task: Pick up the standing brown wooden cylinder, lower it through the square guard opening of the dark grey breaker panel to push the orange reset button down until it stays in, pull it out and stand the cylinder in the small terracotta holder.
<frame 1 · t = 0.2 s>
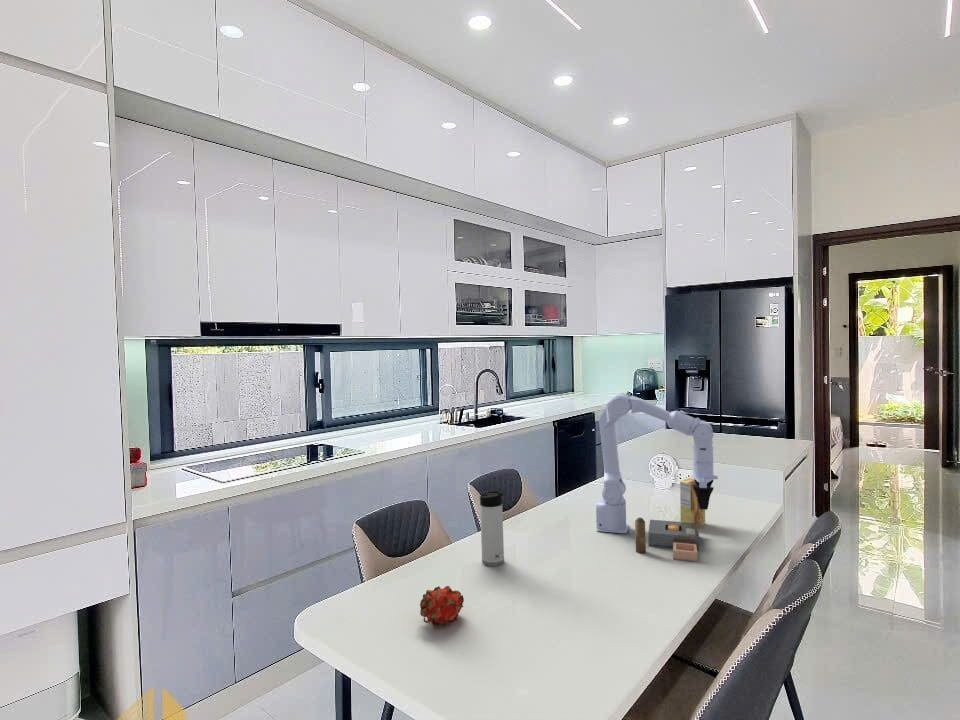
hand: (703, 505, 163), 10 cm above the table, tool pointing down, fingers open, 7 cm apart
holder: (685, 556, 151), on the table
button: (673, 529, 162), point 4 cm above the table, slide at 0.0 cm
brown wooden cylinder: (640, 551, 155), on the table
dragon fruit: (443, 621, 120), on the table
panel: (673, 540, 162), on the table
travel mug: (493, 562, 151), on the table
candy box: (693, 526, 174), on the table
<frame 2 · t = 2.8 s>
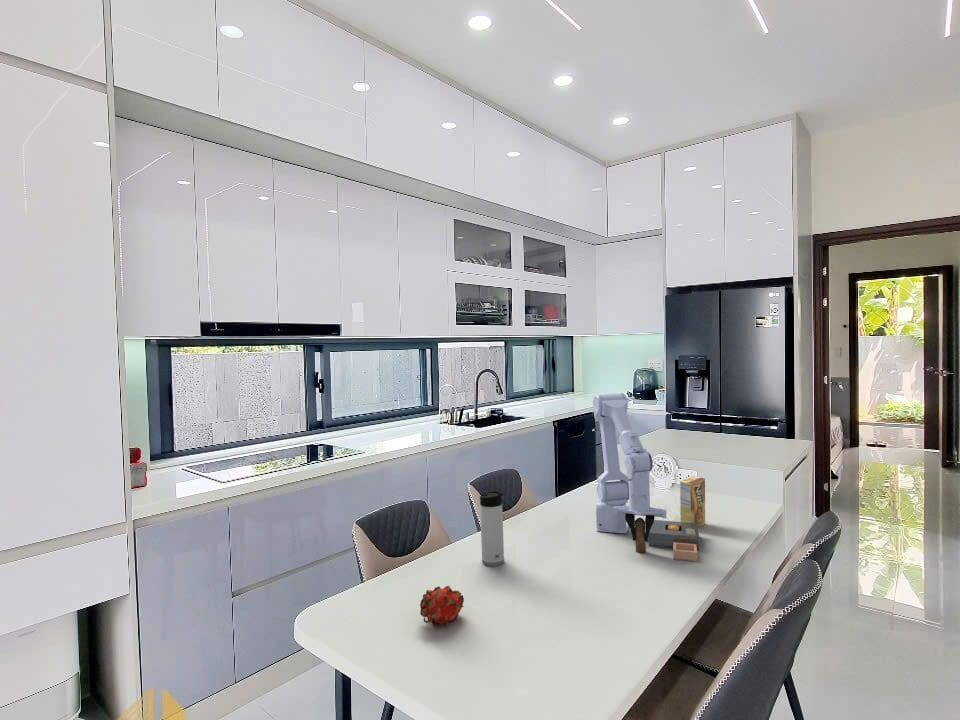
hand: (640, 540, 155), 3 cm above the table, tool pointing down, fingers closed on brown wooden cylinder, 3 cm apart
brown wooden cylinder: (640, 551, 155), on the table, touching gripper
everything else where it was.
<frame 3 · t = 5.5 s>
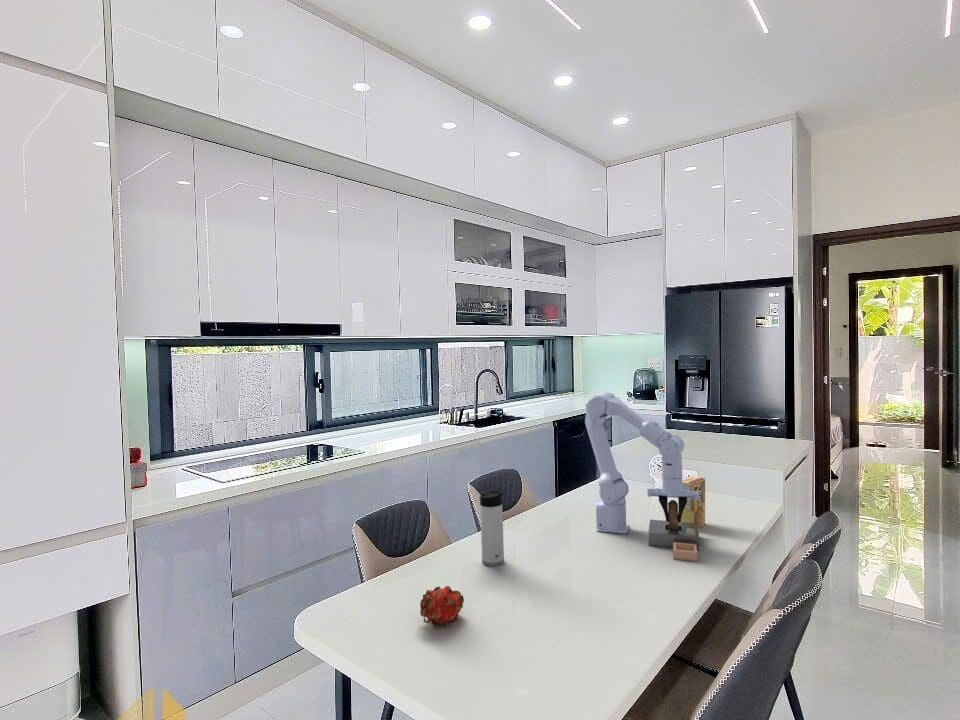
hand: (673, 521, 162), 6 cm above the table, tool pointing down, fingers closed on brown wooden cylinder, 3 cm apart
button: (673, 534, 162), point 2 cm above the table, slide at 1.7 cm, touching brown wooden cylinder
brown wooden cylinder: (673, 532, 162), point 3 cm above the table, touching button, gripper
everything else where it was.
when the fingers open (4 cm above the table, at t = 8.3 s): brown wooden cylinder stays where it is, resting on holder.
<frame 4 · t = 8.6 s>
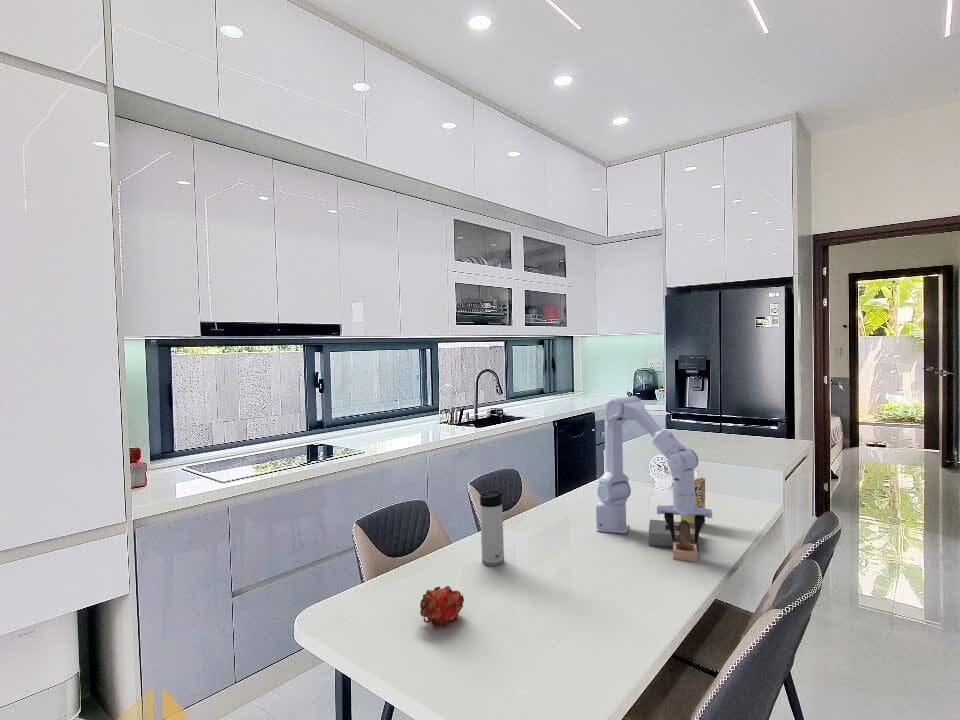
hand: (684, 540, 150), 4 cm above the table, tool pointing down, fingers open, 5 cm apart
button: (673, 534, 162), point 2 cm above the table, slide at 1.7 cm
brown wooden cylinder: (685, 555, 150), resting on holder
everything else where it was.
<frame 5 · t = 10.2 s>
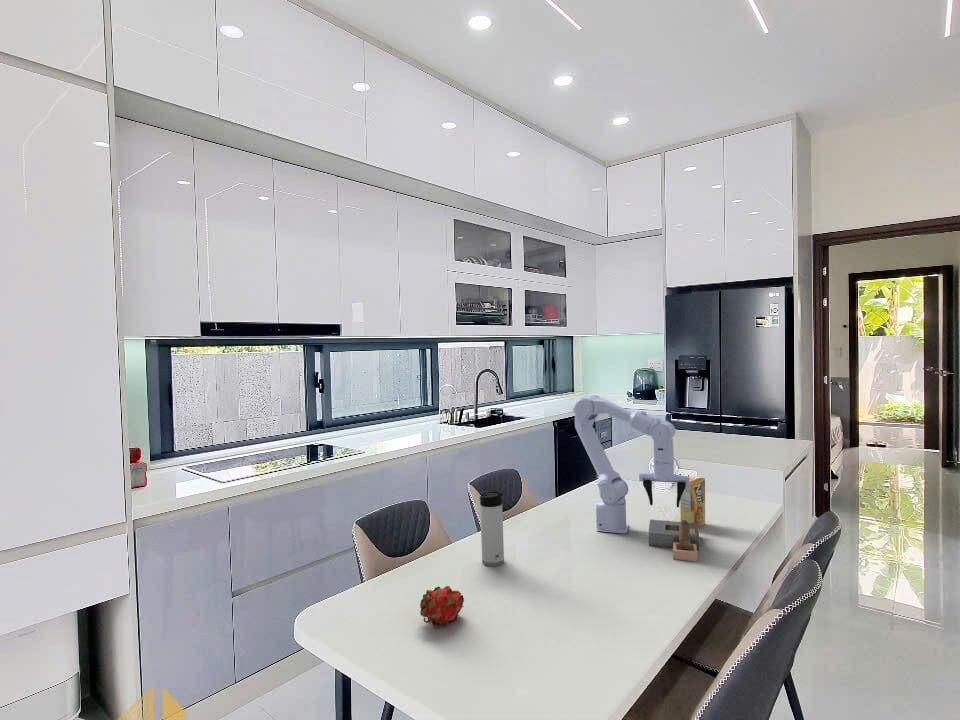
hand: (664, 505, 164), 10 cm above the table, tool pointing down, fingers open, 7 cm apart
nothing on the table moved.
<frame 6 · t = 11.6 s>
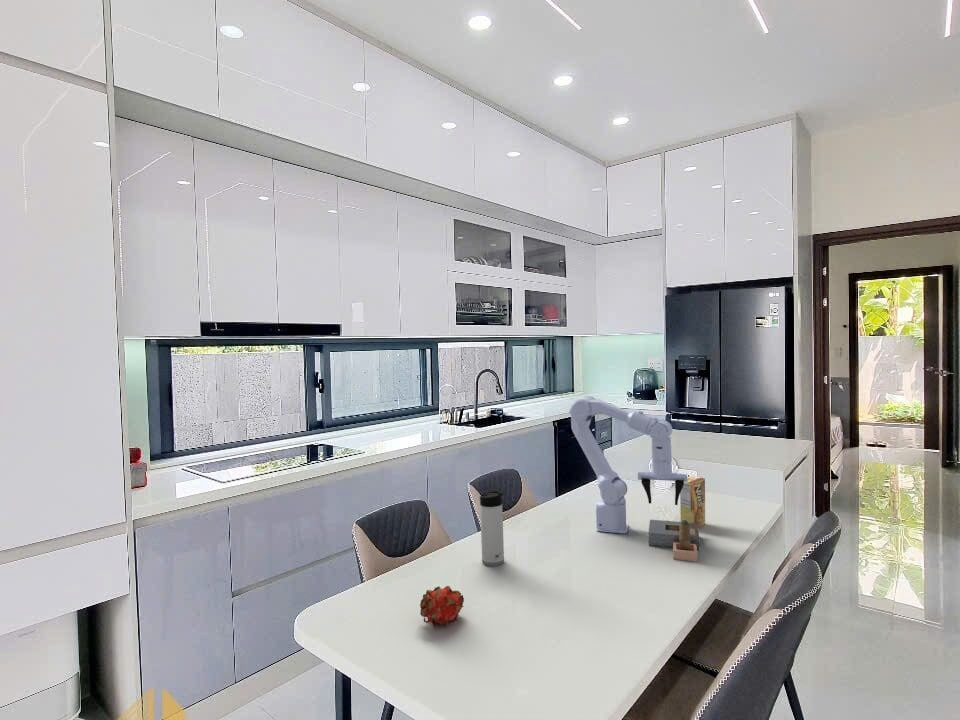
hand: (663, 503, 165), 10 cm above the table, tool pointing down, fingers open, 7 cm apart
nothing on the table moved.
at the end: button slide at 1.7 cm; brown wooden cylinder 0.2 cm off-centre on the holder, point 0.3 cm above the holder's base; brown wooden cylinder tilted 0° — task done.
